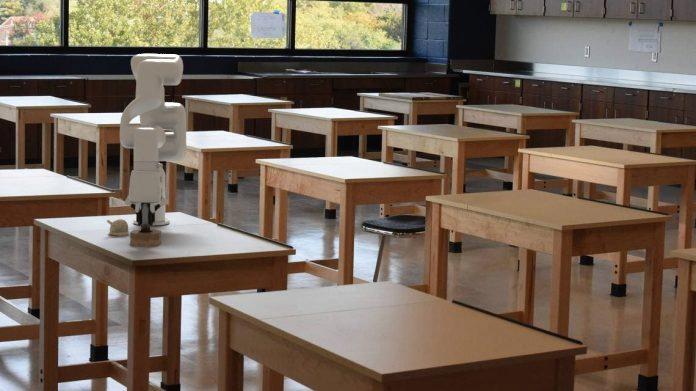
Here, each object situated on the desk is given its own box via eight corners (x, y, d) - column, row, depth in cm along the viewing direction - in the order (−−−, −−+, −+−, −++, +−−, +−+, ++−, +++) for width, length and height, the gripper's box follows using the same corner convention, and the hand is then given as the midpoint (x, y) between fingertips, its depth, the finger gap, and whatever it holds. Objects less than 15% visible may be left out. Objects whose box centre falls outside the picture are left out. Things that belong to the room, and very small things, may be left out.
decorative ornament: (131, 235, 386) (132, 219, 385) (108, 236, 381) (108, 220, 380) (126, 233, 389) (126, 217, 388) (103, 235, 384) (103, 219, 383)
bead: (133, 241, 373) (133, 228, 373) (162, 241, 373) (162, 229, 373) (128, 246, 364) (128, 233, 364) (157, 246, 364) (157, 234, 364)
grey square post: (141, 233, 370) (141, 202, 369) (151, 233, 370) (151, 202, 369) (139, 234, 367) (140, 203, 366) (149, 235, 367) (149, 203, 366)
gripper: (173, 166, 370) (173, 223, 372) (122, 164, 369) (121, 222, 372) (170, 168, 362) (169, 227, 364) (117, 167, 362) (117, 225, 364)
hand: (145, 224), depth 368 cm, fingers closed on grey square post, 3 cm apart
